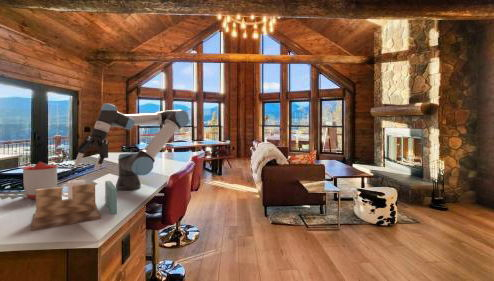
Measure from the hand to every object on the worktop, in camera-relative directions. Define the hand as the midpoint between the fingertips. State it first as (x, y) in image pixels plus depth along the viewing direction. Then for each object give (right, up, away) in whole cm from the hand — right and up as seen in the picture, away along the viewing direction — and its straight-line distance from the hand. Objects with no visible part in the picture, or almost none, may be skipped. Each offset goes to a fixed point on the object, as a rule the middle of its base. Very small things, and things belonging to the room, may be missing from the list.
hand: (86, 167), depth 140 cm
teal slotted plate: (+18, -20, -9) cm, 28 cm away
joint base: (+4, -20, -21) cm, 29 cm away
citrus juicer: (-32, -18, +10) cm, 38 cm away
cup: (-10, -19, +5) cm, 22 cm away
